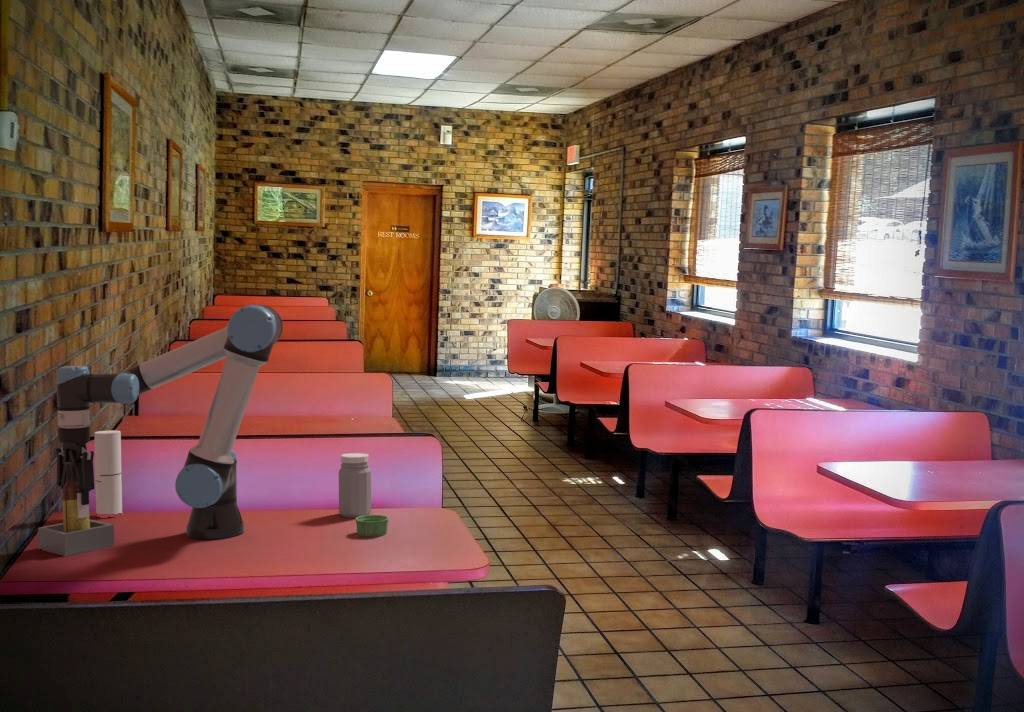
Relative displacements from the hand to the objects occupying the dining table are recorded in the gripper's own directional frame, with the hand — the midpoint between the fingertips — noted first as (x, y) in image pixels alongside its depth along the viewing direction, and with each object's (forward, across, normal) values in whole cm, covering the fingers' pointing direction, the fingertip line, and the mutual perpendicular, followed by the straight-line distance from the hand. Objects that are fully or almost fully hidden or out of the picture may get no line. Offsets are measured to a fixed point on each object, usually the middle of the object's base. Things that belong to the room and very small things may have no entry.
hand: (76, 515), depth 254 cm
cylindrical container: (+8, -28, +27) cm, 40 cm away
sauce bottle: (+6, 0, 0) cm, 6 cm away
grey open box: (+8, 0, 0) cm, 8 cm away
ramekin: (+9, +51, +56) cm, 76 cm away
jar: (+9, +30, +71) cm, 77 cm away
